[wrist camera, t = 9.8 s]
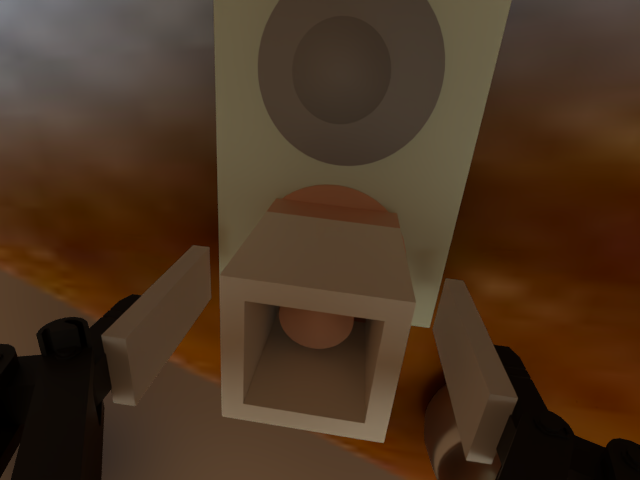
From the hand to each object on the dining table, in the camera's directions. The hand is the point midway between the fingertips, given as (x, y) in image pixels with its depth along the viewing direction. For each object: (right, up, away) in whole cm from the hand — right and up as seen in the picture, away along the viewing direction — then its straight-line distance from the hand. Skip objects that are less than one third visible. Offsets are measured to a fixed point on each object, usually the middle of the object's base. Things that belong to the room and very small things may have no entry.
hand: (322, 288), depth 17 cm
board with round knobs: (+1, +6, +2) cm, 6 cm away
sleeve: (0, +1, +3) cm, 3 cm away
